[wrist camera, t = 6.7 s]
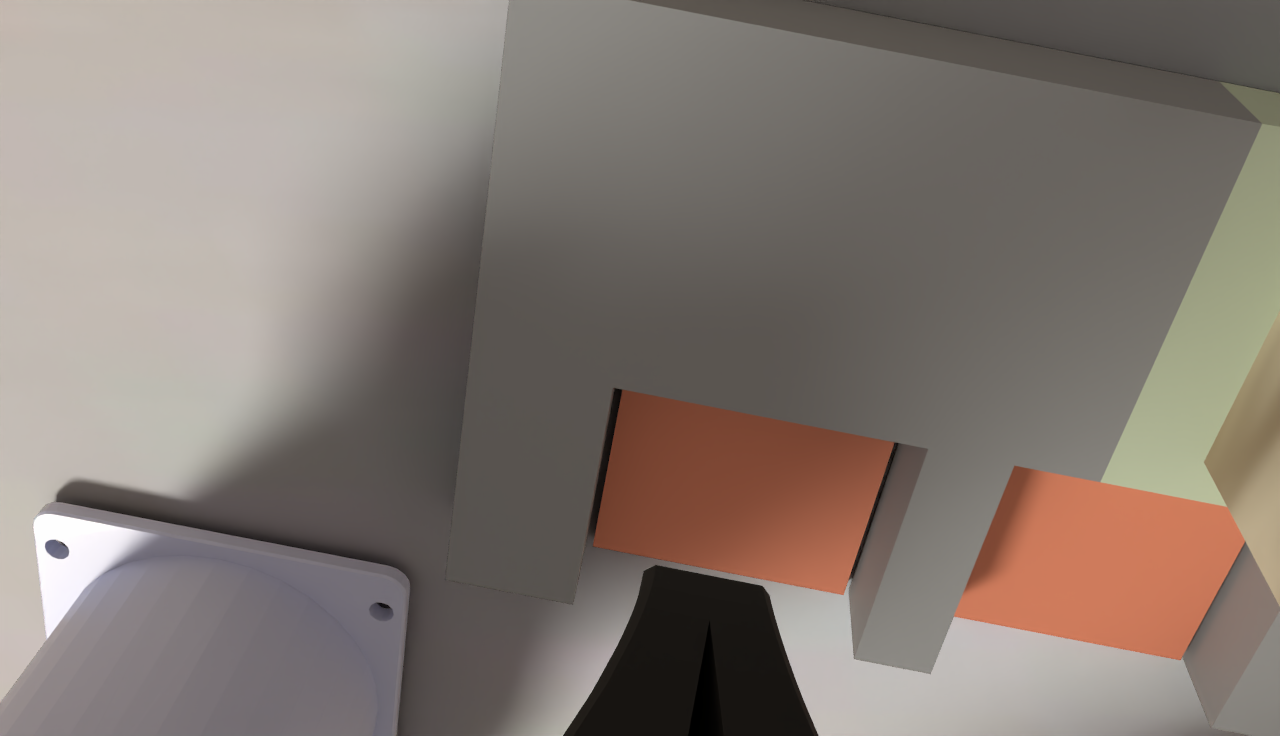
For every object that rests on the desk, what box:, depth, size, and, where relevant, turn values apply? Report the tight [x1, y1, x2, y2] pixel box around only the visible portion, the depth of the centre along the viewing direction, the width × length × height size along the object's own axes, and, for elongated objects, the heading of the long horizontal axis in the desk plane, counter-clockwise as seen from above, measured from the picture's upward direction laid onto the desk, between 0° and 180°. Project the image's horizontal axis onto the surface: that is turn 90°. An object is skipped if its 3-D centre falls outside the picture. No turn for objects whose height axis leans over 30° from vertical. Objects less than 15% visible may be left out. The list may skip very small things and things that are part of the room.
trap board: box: [445, 0, 1280, 736], centre depth 21 cm, size 12×18×4 cm, turn 81°
